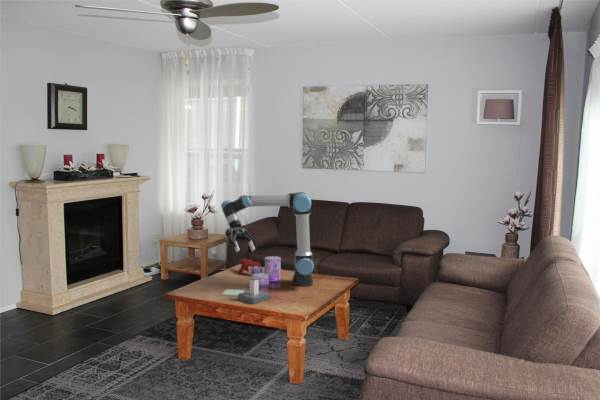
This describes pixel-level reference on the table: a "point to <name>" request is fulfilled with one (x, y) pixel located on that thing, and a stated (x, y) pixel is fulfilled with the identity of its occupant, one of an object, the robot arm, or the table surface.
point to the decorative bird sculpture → (247, 265)
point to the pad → (232, 292)
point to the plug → (254, 285)
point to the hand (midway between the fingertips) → (246, 250)
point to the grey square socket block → (254, 297)
